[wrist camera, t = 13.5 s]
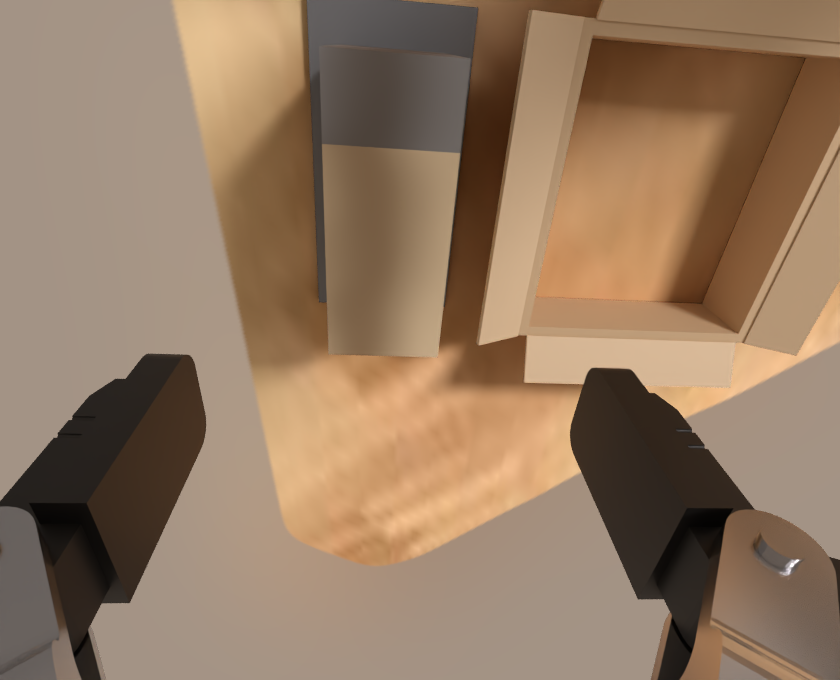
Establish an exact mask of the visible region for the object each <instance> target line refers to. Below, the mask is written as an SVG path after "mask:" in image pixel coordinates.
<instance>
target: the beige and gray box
mask: <svg viewBox="0 0 840 680" xmlns="http://www.w3.org/2000/svg"><path fill="white" fill-rule="evenodd" d="M470 61H471V59H470V58H465V57H460V56H456V55H451V54H446V53H437V52H426V51H414V50H402V49H390V48H378V47H366V46H354V45H343V44H340V45H326V46H319V62H320V95H321V127H322V160H323V192H324V225H325V257H326V290H327V322H328V354H336V355H370V356H404V357H438V350H439V341H440V332H441V323H442V314H443V305H444V296H445V287H446V278H447V269H448V260H449V251H450V242H451V233H452V224H453V215H454V206H455V197H456V188H457V179H458V169H459V160H460V151H461V142H462V133H463V124H464V115H465V106H466V97H467V88H468V79H469V70H470Z"/></svg>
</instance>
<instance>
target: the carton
mask: <svg viewBox="0 0 840 680" xmlns="http://www.w3.org/2000/svg"><path fill="white" fill-rule="evenodd" d="M592 38H593V39H604V40H615V41H627V42H638V43H649V44H660V45H671V46H683V47H694V48H705V49H716V50H727V51H738V52H750V53H761V54H772V55H783V56H794V57H805V58H806V59H805V61H804V64H803V66H802V68H801V71H800V73H799V76H798V78H797V80H796V83H795V85H794V87H793V90H792V92H791V94H790V97H789V99H788V102H787V104H786V106H785V109H784V111H783V113H782V116H781V118H780V120H779V123H778V125H777V128H776V130H775V132H774V135H773V137H772V139H771V142H770V144H769V146H768V149H767V151H766V154H765V156H764V158H763V161H762V163H761V165H760V168H759V170H758V172H757V175H756V177H755V180H754V182H753V184H752V187H751V189H750V191H749V194H748V196H747V198H746V201H745V203H744V205H743V208H742V210H741V213H740V215H739V217H738V220H737V222H736V224H735V227H734V229H733V231H732V234H731V236H730V239H729V241H728V243H727V246H726V248H725V250H724V253H723V255H722V257H721V260H720V262H719V265H718V267H717V269H716V272H715V274H714V276H713V279H712V281H711V283H710V286H709V288H708V291H707V293H706V295H705V298H704V300H703V302H702V304H697V303H673V302H649V301H625V300H600V299H576V298H552V297H535V296H536V291H537V287H538V282H539V278H540V273H541V269H542V264H543V260H544V255H545V250H546V246H547V241H548V237H549V232H550V228H551V223H552V219H553V214H554V209H555V205H556V200H557V196H558V191H559V187H560V182H561V178H562V173H563V168H564V164H565V159H566V155H567V150H568V146H569V141H570V137H571V132H572V128H573V123H574V118H575V114H576V109H577V105H578V100H579V96H580V91H581V87H582V82H583V77H584V73H585V68H586V64H587V59H588V55H589V50H590V46H591V41H592ZM839 280H840V0H602V1H601V4H600V7H599V9H598V12H597V15H596V18H589V17H582V16H574V15H567V14H560V13H552V12H545V11H538V10H529V12H528V18H527V24H526V31H525V37H524V43H523V50H522V56H521V62H520V69H519V75H518V82H517V88H516V94H515V101H514V107H513V113H512V120H511V126H510V132H509V139H508V145H507V151H506V158H505V164H504V170H503V177H502V183H501V189H500V196H499V202H498V208H497V215H496V221H495V227H494V234H493V240H492V247H491V253H490V259H489V266H488V272H487V278H486V285H485V291H484V297H483V304H482V310H481V316H480V323H479V329H478V335H477V342H476V344H477V345H483V344H487V343H491V342H496V341H500V340H504V339H508V338H512V337H517V336H518V335H526V345H525V360H524V375H523V382H524V383H557V384H584V381H585V378H586V375H587V373H588V371H589V370H590V369H591V368H625V369H631V370H632V371H633V372H634V373H635V374H636V376H637V377H638V379H639V380H640V381H641V383H642V384H643V385H644V386H675V387H715V388H731V379H732V370H733V362H734V353H735V345H736V343H744V344H747V345H751V346H756V347H760V348H765V349H769V350H773V351H778V352H782V353H787V354H791V355H795V356H796V355H797V354H798V352H799V350H800V348H801V347H802V345H803V343H804V341H805V340H806V338H807V336H808V334H809V333H810V331H811V329H812V328H813V326H814V324H815V322H816V321H817V319H818V317H819V315H820V314H821V312H822V310H823V308H824V307H825V305H826V303H827V301H828V300H829V298H830V296H831V294H832V293H833V291H834V289H835V287H836V286H837V284H838V282H839Z"/></svg>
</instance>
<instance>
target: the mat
mask: <svg viewBox="0 0 840 680" xmlns="http://www.w3.org/2000/svg"><path fill="white" fill-rule="evenodd" d="M477 13H478V8H476V7H466V6H455V5H444V4H433V3H423V2H412V1H401V0H307V17H308V41H309V66H310V91H311V116H312V141H313V166H314V191H315V215H316V240H317V265H318V290H319V302H327V290H326V257H325V225H324V192H323V160H322V127H321V95H320V62H319V46H326V45H340V44H343V45H354V46H366V47H378V48H390V49H402V50H414V51H426V52H437V53H446V54H451V55H456V56H460V57H465V58H470V59H471V61H470V70H469V79H468V88H467V97H466V106H465V115H464V124H463V133H462V142H461V151H460V160H459V169H458V179H457V188H456V197H455V206H454V215H453V224H452V233H451V242H450V251H449V260H448V269H447V278H446V287H445V296H444V305H443V307H445V299H446V290H447V281H448V272H449V263H450V254H451V245H452V236H453V227H454V218H455V209H456V201H457V192H458V183H459V174H460V165H461V156H462V147H463V138H464V129H465V120H466V111H467V102H468V94H469V85H470V76H471V67H472V58H473V49H474V40H475V31H476V22H477Z"/></svg>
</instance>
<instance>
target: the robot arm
mask: <svg viewBox="0 0 840 680" xmlns="http://www.w3.org/2000/svg"><path fill="white" fill-rule="evenodd" d="M205 432H206V416H205V411H204V406H203V401H202V396H201V392H200V387H199V383H198V377H197V373H196V368H195V364H194V361H193V359H192V357H190V356H189V355H174V354H146V355H145V356H144V357H143V358H142V359H141V360H140V361H139V362H138V364H137V365H136V366H135V368H134V369H133V370H132V371H131V373H130V374H129V375H128V377H127V378H126V379H115V380H113V381H112V382H110V383H108V384H107V385H105V386H104V387H102V388H101V389H99V390H98V391H96V392H95V393H93V394H92V395H90V396H89V397H88V398H87V399H86V401H85V402H84V403H83V404H82V405H81V406H80V408H79V409H78V410H77V411H76V412H75V414H74V415H73V418H72V420H69V421H68V422H67V423H66V424H65V425H64V427H63V428H62V429H61V430H60V432H58V437H57V438H53V440H52V441H51V442H50V443H49V444H48V446H47V447H46V448H45V449H44V450H43V451H42V453H41V454H40V455H39V456H38V457H37V459H36V460H35V461H34V462H33V463H32V464H31V466H30V467H29V468H28V469H27V470H26V471H25V473H24V474H23V475H22V476H21V478H20V479H19V480H18V481H17V482H16V483H15V485H14V486H13V487H12V488H11V489H10V490H9V492H8V493H7V494H6V495H5V496H4V498H3V499H2V500H1V501H0V680H106V677H105V673H104V669H103V666H102V662H101V658H100V655H99V651H98V647H97V644H96V640H95V637H94V633H93V630H92V628H91V626H90V625H91V623H92V621H93V619H94V617H95V615H96V613H97V611H98V609H99V607H100V605H101V604H102V603H130V601H131V599H132V597H133V595H134V592H135V590H136V588H137V585H138V584H139V582H140V579H141V577H142V575H143V573H144V571H145V568H146V566H147V564H148V562H149V560H150V558H151V556H152V553H153V551H154V549H155V547H156V545H157V543H158V541H159V538H160V536H161V534H162V532H163V529H164V528H165V525H166V523H167V521H168V519H169V517H170V515H171V512H172V510H173V508H174V506H175V504H176V502H177V499H178V497H179V495H180V493H181V491H182V488H183V487H184V484H185V482H186V480H187V478H188V476H189V474H190V471H191V469H192V467H193V465H194V463H195V461H196V459H197V456H198V454H199V452H200V450H201V447H202V445H203V442H204V438H205ZM570 441H571V447H572V451H573V454H574V456H575V458H576V461H577V463H578V465H579V467H580V470H581V472H582V474H583V476H584V479H585V481H586V483H587V485H588V488H589V490H590V492H591V494H592V497H593V499H594V501H595V503H596V506H597V508H598V510H599V512H600V515H601V517H602V519H603V521H604V523H605V526H606V528H607V530H608V533H609V535H610V537H611V540H612V542H613V544H614V546H615V549H616V551H617V553H618V555H619V558H620V560H621V562H622V564H623V567H624V569H625V571H626V573H627V576H628V578H629V580H630V582H631V585H632V587H633V589H634V591H635V594H636V596H637V598H638V599H664V600H665V602H666V604H667V606H668V608H669V610H670V613H669V614H668V616H667V618H666V620H665V622H664V626H663V630H662V634H661V638H660V643H659V647H658V651H657V655H656V659H655V664H654V668H653V673H652V676H651V680H840V560H838V559H835V558H831V557H828V555H827V554H826V552H825V551H824V550H823V549H822V547H821V546H820V545H819V544H818V543H817V542H816V541H815V540H814V539H812V538H811V537H810V536H809V535H808V534H807V533H805V532H804V531H803V530H801V529H800V528H798V527H797V526H795V525H793V524H792V523H790V522H788V521H786V520H784V519H782V518H780V517H778V516H775V515H773V514H770V513H767V512H763V511H758V510H755V509H754V508H753V507H752V505H751V504H750V503H749V502H748V501H747V499H746V498H745V497H744V495H743V494H742V493H741V491H740V490H739V489H738V487H737V486H736V485H735V484H734V482H733V481H732V480H731V478H730V477H729V476H728V475H727V473H726V472H725V471H724V470H723V468H722V467H721V466H720V464H719V463H718V462H717V460H716V459H715V458H714V457H713V455H712V454H711V453H710V451H709V450H708V449H705V448H704V444H703V442H702V441H701V440H700V439H699V437H698V436H697V435H696V433H692V429H691V427H690V426H689V424H688V423H687V422H686V420H685V419H684V418H683V417H682V415H681V414H680V413H679V411H678V410H677V409H675V408H674V407H673V406H671V405H670V404H669V403H667V402H666V401H665V400H663V399H662V398H661V397H659V396H658V395H657V394H655V393H649V392H648V391H647V389H646V388H645V387H644V385H643V384H642V383H641V381H640V380H639V379H638V377H637V376H636V374H635V373H634V372H633V371H632V370H631V369H625V368H591V369H590V370H589V371H588V373H587V375H586V378H585V381H584V384H583V388H582V391H581V394H580V397H579V401H578V404H577V407H576V410H575V414H574V417H573V420H572V424H571V430H570Z"/></svg>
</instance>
